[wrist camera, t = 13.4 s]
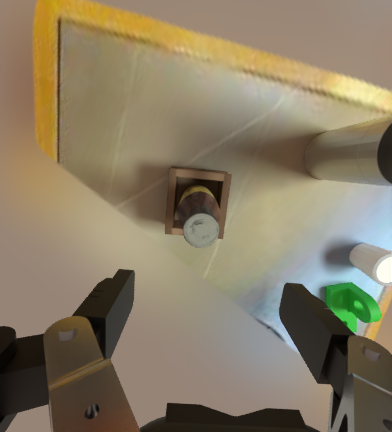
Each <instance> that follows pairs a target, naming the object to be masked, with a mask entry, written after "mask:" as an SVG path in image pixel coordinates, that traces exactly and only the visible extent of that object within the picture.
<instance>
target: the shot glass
mask: <svg viewBox="0 0 392 432" xmlns="http://www.w3.org/2000/svg"><path fill="white" fill-rule="evenodd" d="M349 258H350V262H351V263H352V264H353V265H354V266H355V267H357V268H358V269H359V270H361V271H362V272H363V273H365V274H366V275H367V276H369V277H370V278H371V279H373V280H374V281H375V282H377V283H378V284H380V285H384V286H390V285H392V251H389V250H386V249H383V248H380V247H377V246H374V245H370V244H366V243H362V244H358V245H357V246H355V247H354V248H353V249H352V250H351V252H350V255H349Z"/></svg>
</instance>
